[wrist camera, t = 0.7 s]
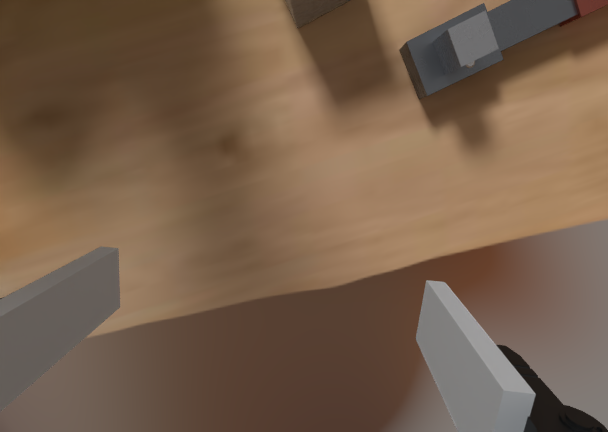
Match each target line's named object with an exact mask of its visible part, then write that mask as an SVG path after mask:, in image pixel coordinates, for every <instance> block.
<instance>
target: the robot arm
mask: <svg viewBox="0 0 608 432" xmlns="http://www.w3.org/2000/svg"><path fill="white" fill-rule="evenodd" d="M119 308H120V286H119V252H118V248H110V247H99V248H97V249H95V250H93V251H91V252H90V253H88V254H86V255H84V256H82V257H80V258H78V259H76V260H74V261H72V262H70V263H69V264H67V265H65V266H63V267H61V268H59V269H57V270H55V271H53V272H51V273H49V274H48V275H46V276H44V277H42V278H40V279H38V280H36V281H34V282H32V283H30V284H28V285H27V286H25V287H23V288H21V289H19V290H17V291H15V292H13V293H11V294H9V295H7V296H6V297H3V298H0V412H1V411H2V410H3V409H4V408H5V407H6V406H7V405H9V404H10V403H11V402H12V401H13V400H14V399H16V398H17V397H18V396H19V395H20V394H21V393H22V392H24V391H25V390H26V389H27V388H28V387H29V386H30V385H32V384H33V383H34V382H35V381H36V380H37V379H38V378H40V377H41V376H42V375H43V374H44V373H45V372H46V371H48V370H49V369H50V368H51V367H52V366H53V365H54V364H55V363H57V362H58V361H59V360H60V359H61V358H62V357H64V356H65V355H66V354H67V353H68V352H69V351H70V350H72V349H73V348H74V347H75V346H76V345H77V344H78V343H80V342H81V341H82V340H83V339H84V338H85V337H86V336H88V335H89V334H90V333H91V332H92V331H93V330H95V329H96V328H97V327H98V326H99V325H100V324H101V323H103V322H104V321H105V320H106V319H107V318H108V317H109V316H111V315H112V314H113V313H114V312H115V311H116V310H117V309H119ZM416 341H417V343H418V345H419V347H420V349H421V351H422V353H423V356H424V358H425V360H426V363H427V365H428V367H429V369H430V371H431V374H432V376H433V378H434V380H435V383H436V385H437V387H438V389H439V391H440V394H441V396H442V398H443V400H444V402H445V405H446V407H447V409H448V411H449V414H450V416H451V418H452V420H453V422H454V424H455V427H456V429H457V431H458V432H608V430H607V429H606V428H605V426H604V425H602V424H601V423H600V422H599V421H597V420H596V419H595V418H593V417H592V416H590V415H588V414H586V413H585V412H583V411H581V410H578V409H576V408H573V407H570V406H566V405H563V404H562V403H561V402H560V400H559V399H558V398H557V397H556V396H555V395H554V394H553V392H552V391H551V390H550V389H549V388H548V387H547V386H546V385H545V383H544V382H543V381H542V380H541V379H540V378H538V375H537V374H536V373H535V372H534V371H533V370H532V369H530V367H529V365H528V364H527V363H526V362H525V361H524V360H523V359H522V357H521V356H520V355H518V354H517V353H515V352H514V351H512V350H511V349H510V348H508V347H507V346H502V345H496V344H495V343H494V342H493V341H492V340H491V339H490V337H489V336H488V335H487V333H486V332H485V331H484V330H483V328H482V327H481V326H480V325H479V324H478V322H477V321H476V320H475V319H474V317H473V316H472V315H471V314H470V313H469V311H468V310H467V309H466V308H465V306H464V305H463V304H462V303H461V301H460V300H459V299H458V298H457V296H456V295H455V294H454V293H453V292H452V291H451V289H450V288H449V287H448V285H447V284H446V283H445V282H438V281H426V286H425V291H424V296H423V302H422V308H421V313H420V318H419V324H418V330H417V335H416Z"/></svg>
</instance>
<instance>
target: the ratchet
mask: <svg viewBox="0 0 608 432" xmlns="http://www.w3.org/2000/svg"><path fill="white" fill-rule="evenodd" d="M605 5H608V0H511V1H509V2H507V3H505V4H503V5H501V6H499V7H497V8H495V9H493V10H491V11H489V12H487V10H486V7H485V4H484V3H483V4H481V5H479V6H477V7H475V8H473V9H471V10H469V11H467V12H465V13H463V14H461V15H459V16H457V17H455V18H453V19H451V20H449V21H447V22H445V23H443V24H441V25H439V26H437V27H435V28H433V29H431V30H429V31H427V32H425V33H423V34H421V35H419V36H417V37H415V38H413V39H411V40H409V41H407V42H406V43H405V44H404V45H403V46H402V48H401V49H400V52H401V55H402V57H403V60H404V62H405V65H406V67H407V70H408V72H409V75H410V78H411V80H412V83H413V85H414V88H415V90H416V93H417V95H418V98H419V99H420V98H423V97H426V96H428V95H430V94H432V93H434V92H437V91H439V90H441V89H443V88H445V87H447V86H449V85H451V84H453V83H455V82H458V81H460V80H462V79H464V78H466V77H468V76H470V75H472V74H474V73H476V72H478V71H481V70H483V69H485V68H487V67H489V66H491V65H493V64H495V63H497V62H499V61H502V60H504V59H503V57H502V54H501V51H502V50H504V49H506V48H508V47H510V46H513V45H515V44H517V43H519V42H521V41H523V40H525V39H527V38H529V37H531V36H533V35H535V34H538V33H540V32H542V31H544V30H546V29H548V28H550V27H552V26H554V25H556V24H558V23H560V26H563V25H565V24H567V23H569V22H572V21H574V20H576V19H578V18H580V17H583V16H585V15H587V14H589V13H591V12H593V11H595V10H597V9H599V8H601V7H603V6H605Z"/></svg>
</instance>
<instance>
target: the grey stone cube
mask: <svg viewBox="0 0 608 432" xmlns="http://www.w3.org/2000/svg"><path fill="white" fill-rule="evenodd" d="M348 1H350V0H285V2H286V4H287V6H288V8H289V11H290V13H291V15H292V17H293V20H294V22H295V24H296V27H297V28H299V27H301V26H303V25H305V24H307V23H309V22H311V21H312V20H314V19H316V18H318V17H320V16H322V15H324V14H326V13H327V12H329V11H331V10H333V9H335V8H337V7H339V6H341V5H342V4H344V3H346V2H348Z"/></svg>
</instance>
